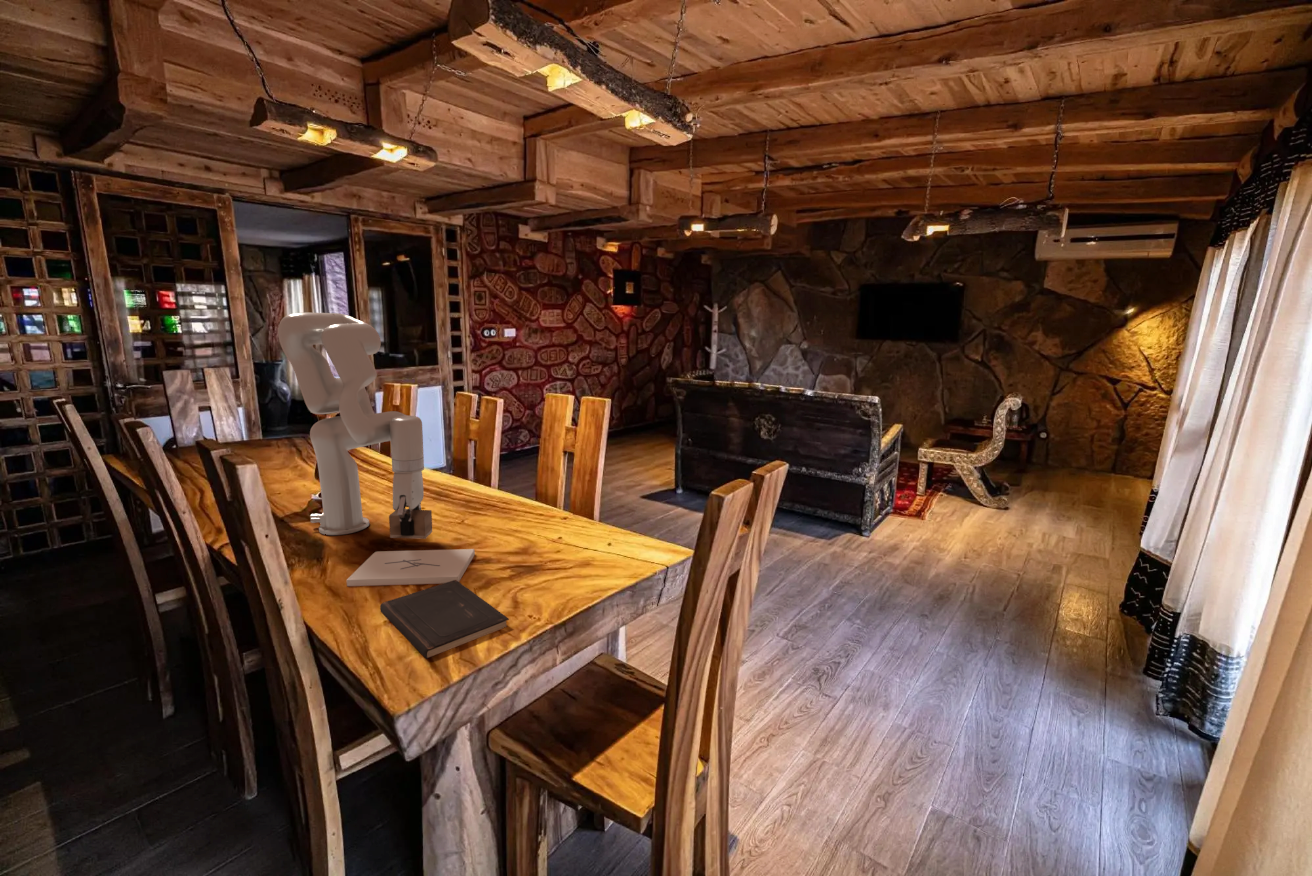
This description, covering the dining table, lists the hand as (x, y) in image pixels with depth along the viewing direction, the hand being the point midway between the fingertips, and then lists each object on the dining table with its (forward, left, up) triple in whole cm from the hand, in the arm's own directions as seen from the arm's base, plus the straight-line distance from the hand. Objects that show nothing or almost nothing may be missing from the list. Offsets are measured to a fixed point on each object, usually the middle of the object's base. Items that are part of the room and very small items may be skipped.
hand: (411, 530), depth 150 cm
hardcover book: (+19, -40, -5) cm, 45 cm away
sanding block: (0, 0, -1) cm, 1 cm away
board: (+6, -17, -4) cm, 18 cm away
